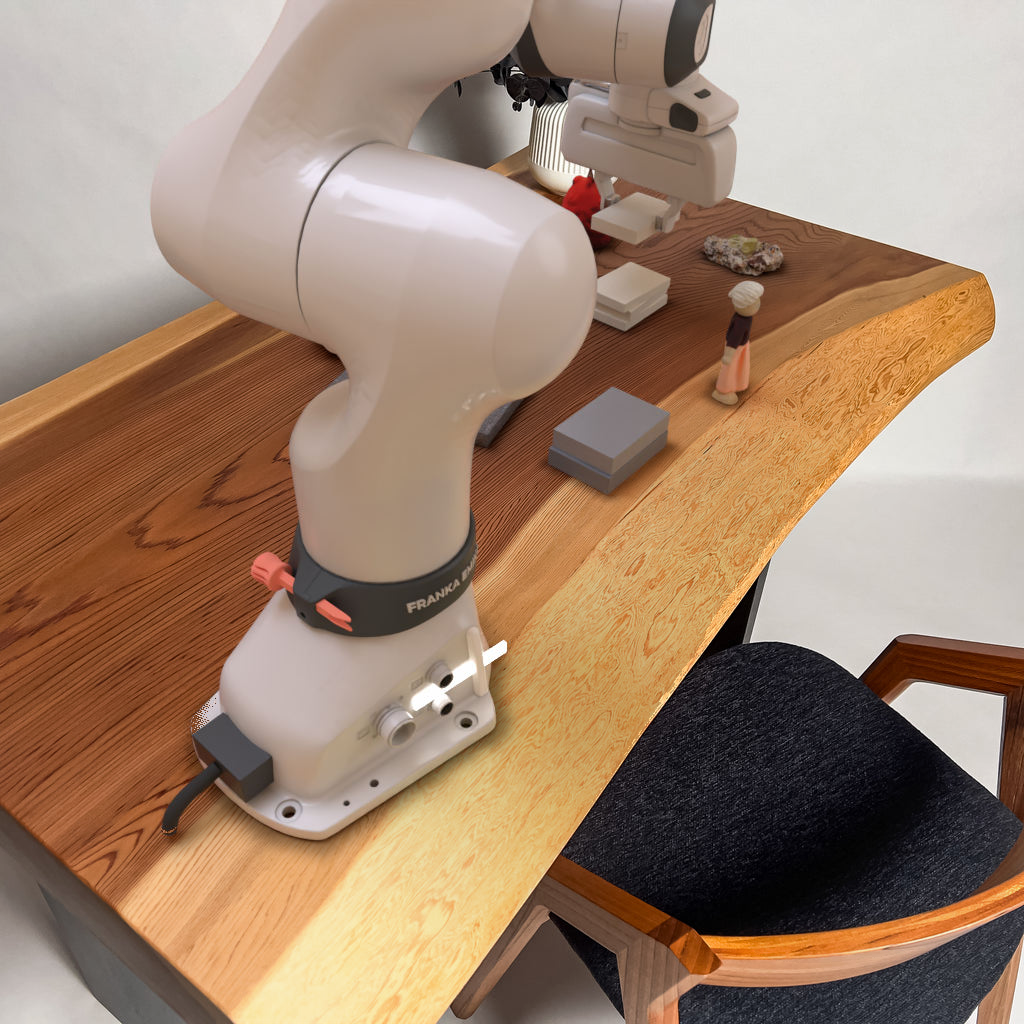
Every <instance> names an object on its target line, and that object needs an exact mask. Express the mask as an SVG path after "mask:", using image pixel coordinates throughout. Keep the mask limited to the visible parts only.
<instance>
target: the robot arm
mask: <svg viewBox="0 0 1024 1024" xmlns="http://www.w3.org/2000/svg"><path fill="white" fill-rule="evenodd" d="M716 4H717V0H285V2H284V4H283V7H282V10H281V11H280V14H279V16H278V18H277V21H276V22H275V24H274V26H273V29H272V30H271V32H270V33H269V36H268V38H267V39H266V41H265V42H264V44H263V46H262V47H261V50H260V51H259V53H258V55H257V56H256V58H255V59H254V61H253V62H252V64H251V66H250V67H249V68H248V70H247V71H246V72H245V74H244V75H243V77H241V79H240V81H239V82H238V84H237V85H235V87H234V88H233V89H232V90H231V91H230V92H229V93H228V95H227V96H226V97H225V98H224V99H223V100H222V101H220V102H219V103H218V104H217V105H216V106H214V107H213V108H212V109H211V110H209V111H208V112H206V113H205V114H203V115H202V116H200V117H198V118H197V119H195V120H192V121H191V122H189V123H188V124H186V125H185V126H184V127H183V128H182V129H181V130H179V132H177V133H176V135H175V136H174V137H173V138H172V140H171V141H170V142H169V143H168V145H167V146H166V147H165V150H164V151H163V153H162V155H161V157H160V159H159V162H158V164H157V167H156V169H155V173H154V175H153V180H152V184H151V190H150V201H149V202H150V204H149V205H150V206H149V207H150V209H149V211H150V220H151V222H150V223H151V227H152V232H153V237H154V239H155V242H156V245H157V247H158V249H159V251H160V253H161V255H162V257H163V258H164V260H165V261H166V263H167V264H168V265H169V266H170V267H171V268H172V269H173V271H175V272H176V273H177V274H178V275H180V276H181V277H182V278H184V279H185V280H187V281H188V282H189V283H190V284H192V285H194V286H195V287H196V288H198V289H199V290H201V291H202V292H203V293H205V294H206V295H208V296H209V297H210V298H212V299H214V300H215V301H218V303H220V304H222V305H223V306H225V308H228V309H229V310H231V311H232V312H234V313H236V314H238V315H240V316H243V317H246V318H249V319H251V320H255V321H256V322H259V323H261V324H264V325H267V326H270V327H273V328H275V329H279V330H281V331H284V332H287V333H289V334H292V335H295V336H297V337H300V338H303V339H305V340H308V341H311V342H313V343H316V344H319V345H320V346H323V347H324V348H325V347H326V348H328V349H330V350H332V351H334V352H335V353H336V354H335V355H336V356H337V357H338V358H339V359H340V361H341V363H342V365H343V366H344V368H345V370H346V371H347V374H348V378H349V379H346V380H344V381H341V382H339V383H337V384H334V385H332V386H331V387H329V388H327V387H326V388H327V389H326V388H325V389H323V390H322V391H320V393H318V394H317V395H316V396H314V397H313V398H312V399H311V400H310V401H309V402H308V403H307V405H306V406H305V407H304V409H303V410H302V411H301V414H300V415H299V417H298V419H297V421H296V423H295V425H294V427H293V429H292V432H291V435H290V438H289V443H288V456H289V462H290V470H291V476H292V483H293V490H294V497H295V502H296V508H297V509H296V510H297V516H298V521H297V523H296V527H295V531H294V535H293V539H292V542H291V548H290V552H289V556H288V562H283V561H282V560H281V558H279V557H278V556H277V555H276V554H275V553H273V552H271V551H266V552H263V553H261V554H259V555H258V556H257V557H256V558H255V559H254V561H253V562H252V564H253V565H251V568H250V571H251V572H250V575H251V578H252V579H254V580H255V581H257V582H258V583H261V584H263V585H265V586H266V587H267V589H268V590H269V591H270V592H275V593H274V594H273V595H272V596H271V598H270V600H269V601H268V603H266V605H265V606H264V608H263V609H262V611H261V612H260V614H259V615H258V616H257V618H255V621H254V622H253V623H252V625H251V626H250V627H249V628H248V630H247V632H246V633H245V634H244V636H243V637H242V638H241V639H240V641H239V642H238V644H237V645H236V647H235V648H234V649H233V650H232V652H231V653H230V655H229V656H228V657H227V658H226V660H225V662H224V664H223V667H222V669H221V672H220V678H219V686H218V687H219V689H218V690H217V691H216V693H215V694H213V696H211V698H210V699H209V700H210V701H209V700H208V701H207V702H206V703H205V704H204V705H205V706H208V707H209V708H208V707H205V706H204V705H202V707H201V708H202V709H203V707H205V708H204V710H206V711H204V710H201V708H200V709H199V710H201V711H202V712H201V713H203V714H201V713H198V711H199V710H198V711H197V712H196V713H198V714H200V715H202V716H200V715H197V714H196V713H195V715H197V716H199V717H202V718H203V719H201V718H199V719H201V722H203V721H204V722H203V723H201V722H199V723H200V724H203V725H204V726H203V725H200V724H198V725H200V726H199V727H200V729H199V728H197V729H199V730H197V731H196V732H195V733H193V734H192V733H191V737H192V738H191V739H192V744H193V745H192V746H193V748H194V752H195V756H196V757H197V759H198V762H199V763H200V765H201V767H202V768H203V770H202V771H201V772H199V774H197V775H196V776H195V777H194V778H192V779H191V780H190V781H189V782H188V783H186V785H184V787H182V789H181V790H180V791H179V792H177V794H175V796H174V797H173V798H172V800H171V801H170V803H169V804H168V805H167V807H166V809H165V811H164V814H163V816H162V817H163V818H162V824H161V828H162V829H163V830H165V831H167V832H168V831H170V830H173V829H175V827H177V826H178V827H179V821H180V818H181V817H182V814H183V813H184V812H185V811H186V809H187V808H188V807H189V805H190V804H191V803H192V802H193V801H194V800H195V799H196V798H197V797H199V795H200V794H202V793H203V792H205V790H206V789H207V788H208V787H210V786H211V785H212V784H213V783H214V784H215V785H216V786H217V787H218V788H219V790H221V791H222V792H223V794H225V795H226V797H228V798H229V799H230V800H231V801H232V802H233V803H234V804H236V805H237V806H238V807H239V808H240V809H241V810H243V811H244V812H245V813H247V814H248V815H249V816H251V817H252V818H254V819H256V820H257V821H259V822H260V823H261V824H264V825H266V826H267V827H269V828H271V829H273V830H274V831H278V832H280V833H283V834H284V835H288V836H292V837H295V838H299V839H305V840H312V841H322V840H323V841H324V840H326V839H328V838H330V837H332V836H334V835H335V834H336V833H338V832H340V831H342V830H344V829H345V828H346V827H348V826H349V825H351V824H353V823H354V822H355V821H357V820H358V819H360V818H361V817H363V816H364V815H366V814H368V813H369V812H371V811H372V810H374V809H375V808H376V807H378V806H380V805H381V804H383V803H384V802H386V801H388V800H389V799H391V798H392V797H393V796H395V795H397V794H398V793H400V792H401V791H402V790H405V789H406V788H407V787H409V786H410V785H412V784H414V783H415V782H416V781H418V780H419V779H421V778H422V777H424V776H425V775H427V774H429V773H430V772H432V771H433V770H435V769H436V768H438V767H439V766H441V765H443V764H444V763H445V762H447V761H448V760H450V759H452V758H453V757H456V755H458V754H459V753H461V752H462V751H464V750H465V749H467V748H469V747H470V746H472V745H473V744H474V743H477V742H478V741H479V740H481V739H482V738H484V737H485V736H487V735H488V734H490V733H491V732H492V731H493V730H494V729H495V727H496V725H497V713H496V707H495V703H494V700H493V697H492V694H491V691H490V689H489V688H490V687H489V686H490V680H491V673H492V662H493V661H494V660H496V659H498V658H499V657H501V656H502V655H504V654H506V653H507V642H506V641H505V640H502V641H500V642H499V643H497V644H496V645H494V646H493V647H491V648H490V646H489V642H488V640H487V637H486V636H485V634H484V631H483V629H482V626H481V624H480V623H481V622H480V618H479V612H478V606H477V602H476V601H477V599H476V596H475V590H474V584H473V583H474V582H473V579H474V576H475V574H476V570H477V557H478V550H479V545H478V543H477V529H476V528H477V526H476V519H475V515H474V512H473V510H472V507H471V481H472V467H473V456H474V448H475V444H474V443H475V439H476V436H477V433H478V431H479V429H480V427H481V425H482V424H483V422H484V421H485V419H486V418H487V417H488V416H489V415H490V414H491V413H492V412H494V411H495V410H496V409H498V408H499V407H501V406H503V405H505V404H507V403H509V402H512V401H515V400H518V399H522V398H524V399H526V398H527V397H529V396H531V395H533V394H536V393H537V392H539V391H540V390H542V389H544V388H545V387H546V386H548V385H549V384H550V383H552V382H553V381H554V380H555V379H556V378H557V377H559V375H561V374H562V373H563V372H564V371H565V370H566V368H567V367H568V366H569V365H570V364H571V363H572V361H574V358H575V357H576V356H577V354H578V353H579V351H580V349H581V348H582V346H583V344H584V342H585V340H586V338H587V336H588V334H589V332H590V329H591V326H592V324H593V323H592V322H593V320H594V318H593V316H594V312H595V307H596V301H597V289H598V284H597V279H598V270H597V264H596V258H595V253H594V250H593V249H592V246H591V243H590V240H589V237H588V235H587V233H586V231H585V229H584V226H583V224H582V223H581V221H580V220H579V218H578V217H577V216H576V215H575V214H574V213H572V212H570V211H569V210H567V209H565V208H563V207H561V206H562V205H560V204H558V203H556V202H554V201H553V200H551V199H549V198H547V197H545V196H544V195H542V194H539V193H538V192H537V191H534V190H532V189H531V188H529V187H526V186H525V185H523V184H521V183H520V182H517V181H516V180H513V179H511V178H509V177H507V176H505V175H503V174H502V173H499V172H496V171H494V170H491V169H486V168H482V167H479V166H475V165H471V164H468V163H464V162H460V161H455V160H452V159H449V158H445V157H441V156H437V155H434V154H429V153H426V152H422V151H418V150H414V149H410V148H409V145H410V142H411V139H412V136H413V134H414V132H415V129H416V127H417V126H418V123H419V121H420V120H421V118H422V116H423V115H424V113H425V112H426V111H427V109H428V108H429V106H430V105H431V104H432V103H433V101H434V100H435V99H436V98H437V97H438V96H439V95H441V93H443V91H445V89H447V88H448V87H449V86H450V85H453V84H454V83H455V82H457V81H460V80H462V79H465V78H467V77H470V76H473V75H476V74H479V73H481V72H483V71H486V70H489V69H490V68H493V66H495V65H497V64H498V63H500V62H501V61H502V60H504V59H505V58H506V57H507V56H508V55H510V56H511V58H512V60H514V62H515V63H516V64H517V65H518V67H519V68H520V69H521V70H522V71H523V72H524V73H525V75H526V76H527V77H528V76H529V78H538V79H539V78H542V79H565V78H567V79H572V81H571V82H570V83H569V86H568V90H567V91H568V94H567V108H566V113H565V118H564V122H563V127H562V132H561V140H560V152H561V155H562V156H563V159H564V161H566V162H568V163H571V164H574V165H577V166H580V167H582V168H586V169H588V170H589V169H592V171H594V172H593V177H594V181H595V183H596V186H597V189H598V191H599V194H600V196H601V204H600V210H603V209H605V208H607V207H609V206H611V205H613V204H615V203H617V202H619V201H621V194H618V193H616V192H615V188H614V185H613V184H614V183H613V181H612V178H616V179H619V180H622V181H624V182H628V183H631V184H634V185H638V186H639V187H643V188H646V189H649V190H652V191H655V192H659V193H661V194H664V195H666V203H667V204H671V206H670V207H669V209H668V210H667V211H663V212H661V213H659V214H657V215H656V219H655V222H656V224H655V229H656V230H658V231H659V232H661V233H664V234H668V233H670V232H672V231H673V230H674V227H675V223H676V222H675V216H676V214H677V213H678V212H679V211H680V210H682V208H683V207H684V206H685V205H686V204H687V203H691V204H694V205H697V206H700V207H703V208H707V209H709V208H712V207H714V206H716V205H718V204H720V203H721V202H722V201H724V200H725V199H727V197H729V195H730V193H731V192H732V189H733V184H734V180H735V179H734V178H735V172H736V163H737V149H738V143H737V136H736V134H735V131H734V129H733V128H732V127H731V126H730V125H731V124H732V123H734V122H735V121H736V120H737V118H738V115H739V110H740V105H739V102H738V101H737V100H736V99H735V98H734V97H732V96H731V95H729V94H728V93H726V92H725V91H723V90H722V89H721V88H719V87H718V86H716V85H715V84H713V83H712V82H711V81H710V80H709V79H707V78H706V77H705V76H704V75H703V74H701V73H700V67H701V66H702V65H703V64H704V62H705V61H706V60H707V56H708V53H709V50H710V45H711V44H710V43H711V35H712V30H713V23H714V18H715V17H714V16H715V10H716ZM680 212H681V211H680ZM326 348H325V349H326ZM215 698H216V699H215ZM208 702H209V703H208ZM215 703H216V704H215ZM206 704H208V705H206ZM209 705H210V706H209ZM212 706H213V707H212ZM206 708H207V709H206ZM207 711H208V712H207ZM199 712H200V711H199ZM205 712H206V713H205ZM204 714H205V715H204ZM195 715H194V716H195ZM194 716H193V717H192V719H193V718H194ZM203 716H204V717H203ZM206 717H207V718H206ZM197 718H198V717H197ZM204 719H206V720H204ZM196 720H197V719H196ZM202 720H203V721H202ZM207 720H209V721H207ZM198 721H200V720H198ZM198 721H197V722H198ZM205 721H206V722H207V723H206V722H205ZM191 722H192V720H191V721H190V723H191ZM193 723H194V722H193ZM204 723H205V724H204ZM195 724H197V723H195ZM198 725H197V727H198ZM463 725H468V726H469V727H464V726H463ZM201 726H202V727H201ZM195 728H196V727H195ZM190 729H191V732H192V727H191V726H190ZM194 730H195V729H194ZM290 813H294V815H293V816H291V817H285V816H286V815H287V814H290ZM178 827H177V828H176V829H175V830H174V831H173V832H171V833H163V831H162V830H161V828H160V831H161V833H162V834H163V835H165V836H174V835H175V834H177V831H178Z"/></svg>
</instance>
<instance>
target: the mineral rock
mask: <svg viewBox="0 0 1024 1024" xmlns="http://www.w3.org/2000/svg"><path fill="white" fill-rule="evenodd" d="M701 251H702V253H703V254H705V255H706V258H707V259H708V260H709V261H710V262H713V263H715V264H716V265H719V266H724V267H727V268H729V269H731V271H732V272H734V273H737V274H742V275H752V276H754V277H757V276H759V275H761V274H763V272H771V271H775V270H776V269H778V268H781V267H780V266H781V265H782V264H783V262H784V258H785V257H784V254H783V251H781V248H780V246H778V244H772V243H771V242H767V241H759V240H758V238H757V237H744V235H743V236H742V235H740V234H737V233H734V234H732V235H730V236H729V237H725V238H724V237H721V238H720V237H719V236H716V235H707V237H706V238H705V239H704V240H703V246H702V247H701Z"/></svg>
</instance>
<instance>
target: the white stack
mask: <svg viewBox="0 0 1024 1024" xmlns="http://www.w3.org/2000/svg"><path fill="white" fill-rule="evenodd" d="M597 284H598V289H597V301H596V307H595V312H594V316H593V320H596V321H599V322H601V323H604V324H606V325H608V326H611V327H613V328H615V329H617V330H620V331H623V332H626V331H628V330H629V329H631V328H632V327H634V326H635V325H637V324H638V323H640V322H641V321H644V319H646V318H647V317H649V316H651V315H652V314H653V313H655V312H656V311H658V310H659V309H661V308H662V307H663V306H665V305H666V304H667V303H668V296H669V295H668V294H667V293H668V290H669V288H670V285H671V277H669V276H666V275H664V274H661V273H659V272H657V271H654V270H652V269H649V268H647V267H645V266H642V265H640V264H637V263H635V262H633V261H629V262H627V263H625V264H623V265H621V266H619V267H618V268H616V269H613V270H611V271H610V272H607V273H606V274H604V275H602V276H600V277H597Z"/></svg>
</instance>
